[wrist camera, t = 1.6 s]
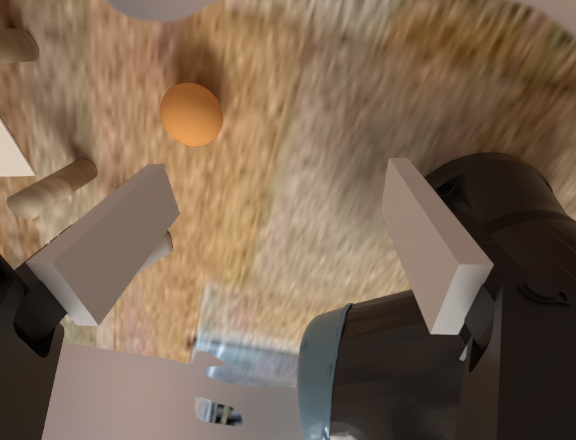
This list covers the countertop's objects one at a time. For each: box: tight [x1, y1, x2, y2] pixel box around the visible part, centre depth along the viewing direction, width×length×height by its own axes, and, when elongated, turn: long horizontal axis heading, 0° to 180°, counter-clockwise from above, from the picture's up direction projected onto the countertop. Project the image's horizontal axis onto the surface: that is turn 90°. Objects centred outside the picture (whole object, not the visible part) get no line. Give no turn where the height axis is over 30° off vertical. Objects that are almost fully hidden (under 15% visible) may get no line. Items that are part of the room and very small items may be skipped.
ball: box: [160, 83, 223, 146], centre depth 26 cm, size 6×6×6 cm
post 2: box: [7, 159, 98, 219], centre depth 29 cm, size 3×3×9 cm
